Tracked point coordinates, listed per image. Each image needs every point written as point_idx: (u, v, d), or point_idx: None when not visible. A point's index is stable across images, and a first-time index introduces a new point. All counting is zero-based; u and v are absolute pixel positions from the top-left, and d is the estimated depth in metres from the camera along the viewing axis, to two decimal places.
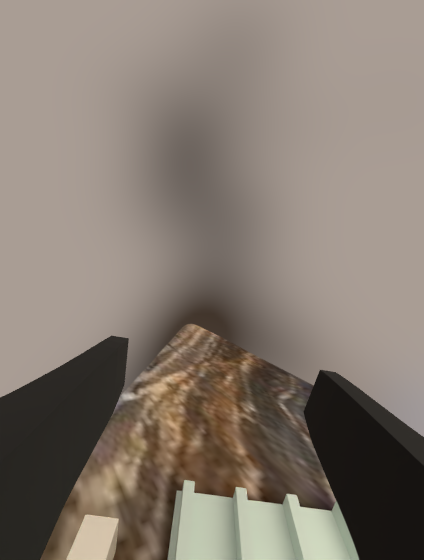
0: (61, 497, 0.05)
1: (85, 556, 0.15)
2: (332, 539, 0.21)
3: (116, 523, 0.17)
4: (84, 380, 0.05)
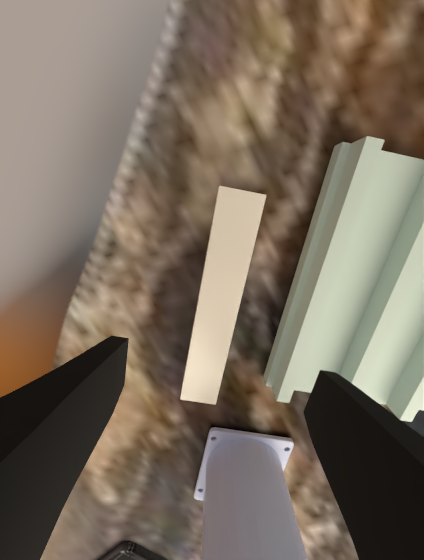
0: (61, 497, 0.05)
1: (231, 230, 0.13)
2: None
3: (263, 200, 0.12)
4: (84, 380, 0.05)
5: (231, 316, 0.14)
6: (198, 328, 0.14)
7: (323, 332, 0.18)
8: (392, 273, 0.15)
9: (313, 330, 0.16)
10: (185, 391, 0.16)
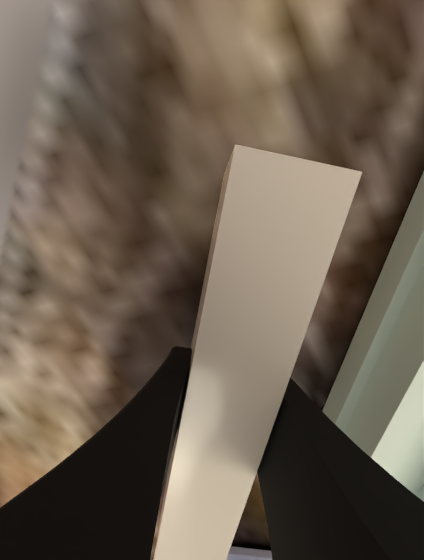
0: None
1: (264, 264, 0.05)
2: None
3: (352, 186, 0.05)
4: (180, 395, 0.06)
5: (254, 442, 0.07)
6: (183, 464, 0.07)
7: None
8: None
9: (404, 439, 0.08)
10: None
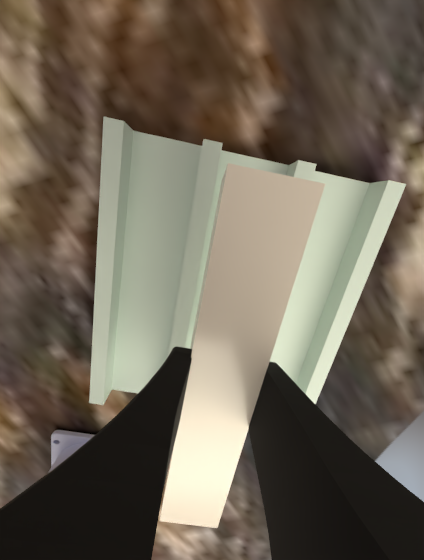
0: None
1: (251, 255, 0.06)
2: (339, 217, 0.14)
3: (318, 194, 0.06)
4: (180, 394, 0.06)
5: (246, 403, 0.08)
6: (187, 421, 0.08)
7: (139, 330, 0.17)
8: None
9: (106, 328, 0.15)
10: (167, 510, 0.10)
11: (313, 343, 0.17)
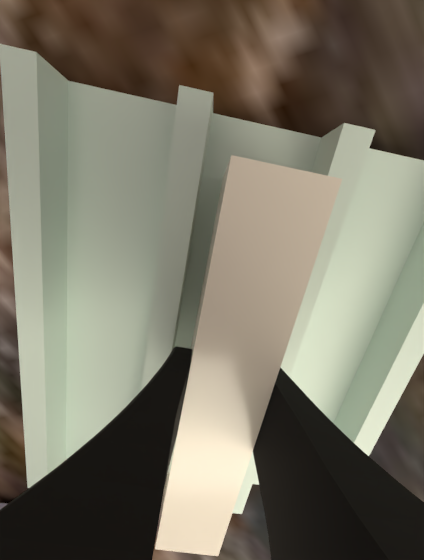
0: None
1: (257, 260, 0.06)
2: (396, 220, 0.09)
3: (334, 191, 0.05)
4: (181, 395, 0.06)
5: (250, 423, 0.07)
6: (185, 443, 0.07)
7: (98, 383, 0.12)
8: None
9: (42, 389, 0.10)
10: (164, 537, 0.09)
11: (349, 401, 0.11)
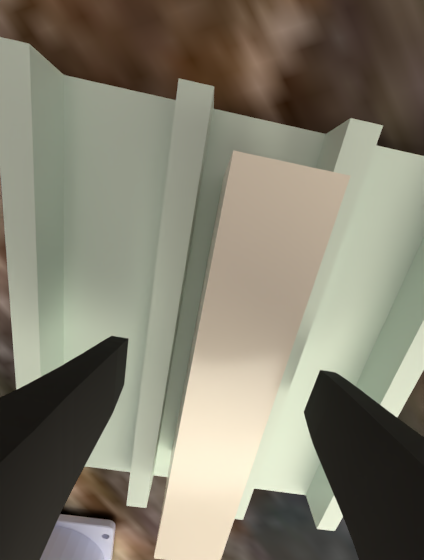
0: (61, 497, 0.05)
1: (260, 261, 0.05)
2: (403, 219, 0.09)
3: (342, 189, 0.05)
4: (84, 380, 0.05)
5: (252, 430, 0.07)
6: (185, 451, 0.07)
7: None
8: None
9: None
10: (163, 546, 0.09)
11: None
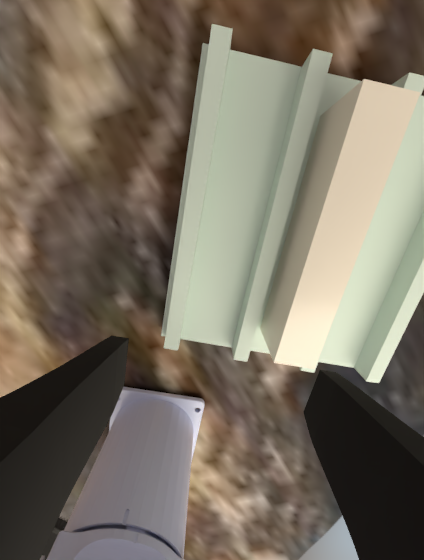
0: (61, 497, 0.05)
1: (369, 141, 0.10)
2: None
3: (415, 100, 0.10)
4: (84, 380, 0.05)
5: (350, 256, 0.12)
6: (308, 272, 0.12)
7: (214, 273, 0.16)
8: (272, 198, 0.14)
9: (190, 264, 0.14)
10: (281, 352, 0.13)
11: (394, 285, 0.16)
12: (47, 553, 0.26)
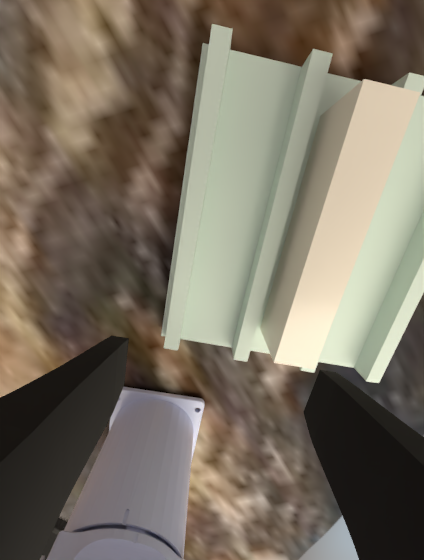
0: (61, 497, 0.05)
1: (369, 141, 0.10)
2: None
3: (415, 100, 0.10)
4: (84, 380, 0.05)
5: (350, 256, 0.12)
6: (308, 272, 0.12)
7: (214, 273, 0.16)
8: (272, 198, 0.14)
9: (190, 264, 0.14)
10: (281, 352, 0.13)
11: (394, 285, 0.16)
12: (47, 553, 0.26)
